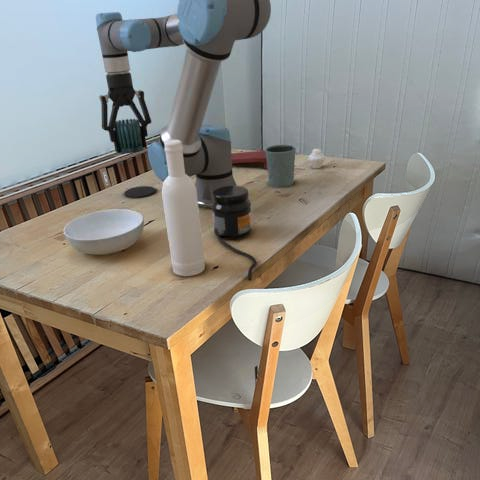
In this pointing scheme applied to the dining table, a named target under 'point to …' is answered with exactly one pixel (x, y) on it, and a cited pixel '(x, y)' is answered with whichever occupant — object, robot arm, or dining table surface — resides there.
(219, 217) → the supplement container
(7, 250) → the dining table surface
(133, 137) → the teal ridged cylinder
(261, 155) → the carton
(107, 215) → the serving bowl
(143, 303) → the dining table surface
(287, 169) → the green plant pot
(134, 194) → the coaster
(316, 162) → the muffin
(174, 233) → the bottle
